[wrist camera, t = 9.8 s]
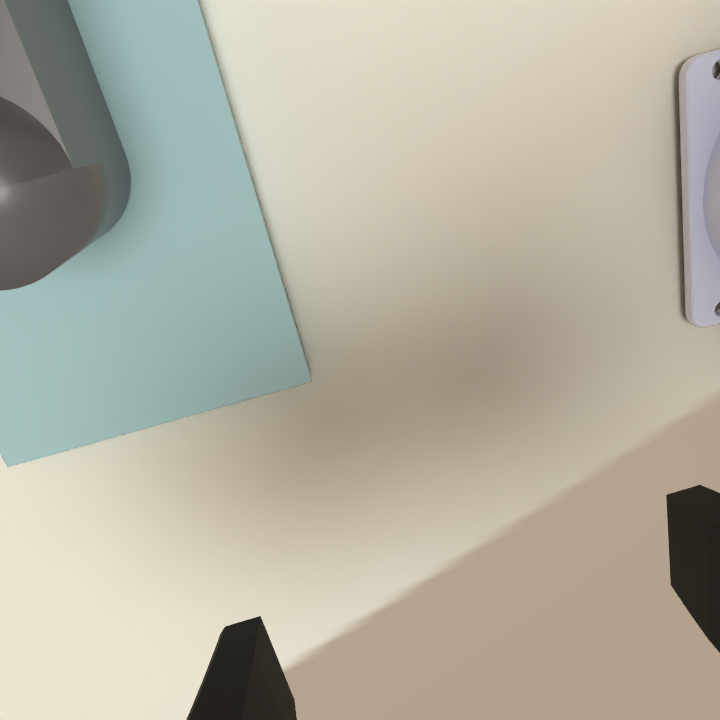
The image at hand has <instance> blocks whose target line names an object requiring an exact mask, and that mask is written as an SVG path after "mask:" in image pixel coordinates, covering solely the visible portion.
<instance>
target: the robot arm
mask: <svg viewBox="0 0 720 720" xmlns="http://www.w3.org/2000/svg"><path fill="white" fill-rule="evenodd" d="M716 61H718V62H719V64H720V49H717V50H713V51H709V52H705V53H702V54H698V55H695V56H693V57H691V58H689V59H688V60H687V61H686V62H685V63H684V64H683V66H682V68H681V70H680V73H679V108H680V141H681V175H682V209H683V242H684V276H685V309H686V317H687V320H688V321H689V322H690V323H692V324H694V325H696V326H698V327H708V326H712V325H715V324H719V323H720V309H719V310H718V311H717V312H715V307H716V305H717V304H718V303H719V302H720V73H719V75H718V76H717V78H716V79H715V78H714V77H713V74H712V70H713V66H714V64H715V63H716ZM667 516H668V535H669V555H670V577H671V586H672V587H673V589H674V590H675V592H676V593H677V595H678V596H679V598H680V599H681V601H682V602H683V604H684V605H685V607H686V608H687V610H688V611H689V613H690V614H691V615H692V617H693V618H694V620H695V621H696V623H697V624H698V625H699V627H700V628H701V630H702V631H703V632H704V634H705V635H706V637H707V638H708V639H709V641H710V642H711V643H712V644H713V645H714V646H715V648H716V649H717V650H718V651H719V652H720V493H718V492H716V491H713V490H711V489H708V488H706V487H704V486H701V485H698V486H695V487H692V488H688V489H685V490H681V491H678V492H675V493H671V494H668V495H667ZM187 720H297V718H296V710H295V702H294V698H293V696H292V693H291V691H290V688H289V686H288V683H287V681H286V678H285V676H284V673H283V671H282V668H281V666H280V663H279V661H278V658H277V656H276V653H275V651H274V649H273V646H272V644H271V641H270V639H269V636H268V634H267V631H266V629H265V626H264V624H263V621H262V619H261V616H259V617H256V618H253V619H249V620H246V621H243V622H239V623H236V624H233V625H229V626H226V627H225V628H224V629H223V631H222V632H221V634H220V637H219V639H218V642H217V645H216V648H215V650H214V653H213V655H212V658H211V661H210V663H209V666H208V668H207V671H206V674H205V676H204V679H203V681H202V684H201V686H200V689H199V691H198V694H197V696H196V698H195V701H194V703H193V706H192V708H191V711H190V713H189V715H188V717H187Z"/></svg>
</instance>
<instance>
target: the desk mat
mask: <svg viewBox="0 0 720 720" xmlns="http://www.w3.org/2000/svg"><path fill="white" fill-rule="evenodd" d="M68 3H69V5H70V8H71V11H72V13H73V16H74V19H75V21H76V24H77V27H78V29H79V32H80V34H81V37H82V40H83V42H84V45H85V48H86V50H87V53H88V56H89V58H90V61H91V64H92V66H93V69H94V72H95V74H96V77H97V80H98V82H99V85H100V88H101V90H102V93H103V96H104V98H105V101H106V104H107V106H108V109H109V112H110V114H111V117H112V120H113V122H114V125H115V128H116V130H117V133H118V136H119V138H120V141H121V143H122V146H123V149H124V151H125V154H126V157H127V160H128V164H129V168H130V174H131V190H130V196H129V201H128V204H127V206H126V209H125V211H124V213H123V215H122V216H121V218H120V219H119V221H118V222H117V223H116V225H115V226H114V227H113V228H111V229H110V230H109V231H108V232H107V233H105V234H104V235H103V236H101V237H100V238H98V239H97V240H96V241H94V242H93V243H91V244H90V245H89V246H87V247H86V248H85V249H83V250H82V251H80V252H79V253H78V254H76V255H75V256H73V257H72V258H71V259H69V260H68V261H66V262H65V263H64V264H62V265H61V266H60V267H58V268H57V269H55V270H54V271H53V272H51V273H50V274H48V275H47V276H45V277H44V278H42V279H40V280H38V281H36V282H34V283H33V284H30V285H27V286H24V287H21V288H16V289H11V290H3V291H0V454H1V456H2V458H3V460H4V462H5V463H6V465H7V467H10V466H14V465H17V464H21V463H25V462H28V461H32V460H35V459H39V458H42V457H46V456H49V455H53V454H57V453H60V452H64V451H67V450H71V449H74V448H78V447H81V446H85V445H88V444H92V443H96V442H99V441H103V440H106V439H110V438H113V437H117V436H120V435H124V434H128V433H131V432H135V431H138V430H142V429H145V428H149V427H152V426H156V425H159V424H163V423H167V422H170V421H174V420H177V419H181V418H184V417H188V416H191V415H195V414H199V413H202V412H206V411H209V410H213V409H216V408H220V407H223V406H227V405H230V404H234V403H238V402H241V401H245V400H248V399H252V398H255V397H259V396H262V395H266V394H270V393H273V392H277V391H280V390H284V389H287V388H291V387H294V386H298V385H301V384H305V383H309V382H312V381H311V376H310V371H309V367H308V364H307V361H306V357H305V354H304V351H303V347H302V344H301V341H300V337H299V334H298V331H297V327H296V324H295V321H294V317H293V314H292V310H291V307H290V304H289V300H288V297H287V294H286V290H285V287H284V284H283V280H282V277H281V274H280V270H279V267H278V264H277V260H276V257H275V254H274V250H273V247H272V243H271V240H270V237H269V233H268V230H267V227H266V223H265V220H264V217H263V213H262V210H261V207H260V203H259V200H258V197H257V193H256V190H255V187H254V183H253V180H252V177H251V173H250V170H249V166H248V163H247V160H246V156H245V153H244V150H243V146H242V143H241V140H240V136H239V133H238V130H237V126H236V123H235V120H234V116H233V113H232V110H231V106H230V103H229V99H228V96H227V93H226V89H225V86H224V83H223V79H222V76H221V73H220V69H219V66H218V63H217V59H216V56H215V53H214V49H213V46H212V43H211V39H210V36H209V32H208V29H207V26H206V22H205V19H204V16H203V12H202V9H201V6H200V2H199V0H68Z"/></svg>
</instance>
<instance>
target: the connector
mask: <svg viewBox="0 0 720 720" xmlns="http://www.w3.org/2000/svg"><path fill="white" fill-rule="evenodd" d="M130 190H131V174H130V168H129V164H128V160H127V157H126V154H125V151H124V149H123V146H122V143H121V141H120V138H119V136H118V133H117V130H116V128H115V125H114V122H113V120H112V117H111V114H110V112H109V109H108V106H107V104H106V101H105V98H104V96H103V93H102V90H101V88H100V85H99V82H98V80H97V77H96V74H95V72H94V69H93V66H92V64H91V61H90V58H89V56H88V53H87V50H86V48H85V45H84V42H83V40H82V37H81V34H80V32H79V29H78V27H77V24H76V21H75V19H74V16H73V13H72V11H71V8H70V5H69V3H68V0H0V291H3V290H11V289H16V288H21V287H24V286H27V285H30V284H33V283H34V282H36V281H38V280H40V279H42V278H44V277H45V276H47V275H48V274H50V273H51V272H53V271H54V270H55V269H57V268H58V267H60V266H61V265H62V264H64V263H65V262H66V261H68V260H69V259H71V258H72V257H73V256H75V255H76V254H78V253H79V252H80V251H82V250H83V249H85V248H86V247H87V246H89V245H90V244H91V243H93V242H94V241H96V240H97V239H98V238H100V237H101V236H103V235H104V234H105V233H107V232H108V231H109V230H110V229H111V228H113V227H114V226H115V225H116V223H117V222H118V221H119V219H120V218H121V216H122V215H123V213H124V211H125V209H126V206H127V204H128V201H129V196H130Z"/></svg>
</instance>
